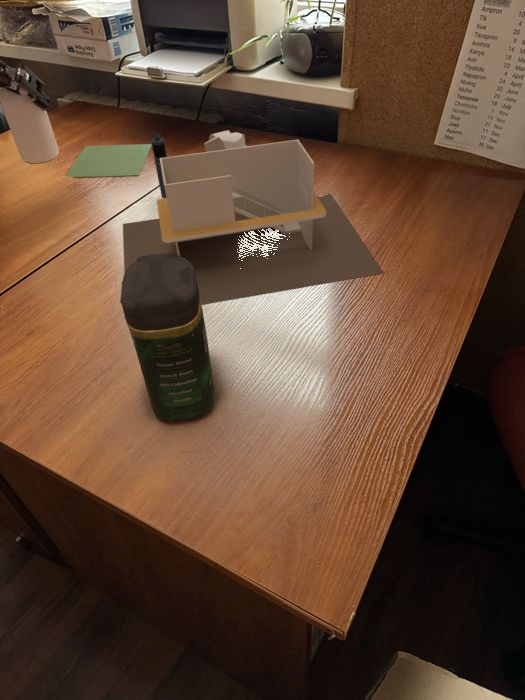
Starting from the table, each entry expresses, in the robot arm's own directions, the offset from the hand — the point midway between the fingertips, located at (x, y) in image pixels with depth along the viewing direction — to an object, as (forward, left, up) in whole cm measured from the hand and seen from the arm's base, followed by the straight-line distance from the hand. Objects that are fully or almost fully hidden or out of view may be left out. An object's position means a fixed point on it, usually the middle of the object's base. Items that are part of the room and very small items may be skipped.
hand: (29, 103), depth 84 cm
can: (0, -2, -9) cm, 9 cm away
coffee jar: (+47, -30, -20) cm, 59 cm away
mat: (-6, +21, -19) cm, 29 cm away
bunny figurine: (+19, +32, -20) cm, 42 cm away
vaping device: (+17, +12, -20) cm, 29 cm away
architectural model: (+38, +2, -20) cm, 43 cm away
